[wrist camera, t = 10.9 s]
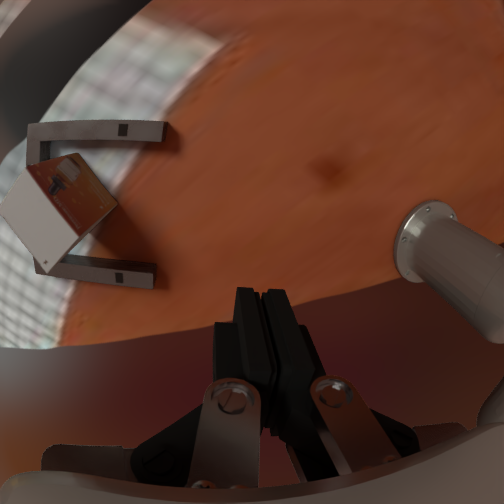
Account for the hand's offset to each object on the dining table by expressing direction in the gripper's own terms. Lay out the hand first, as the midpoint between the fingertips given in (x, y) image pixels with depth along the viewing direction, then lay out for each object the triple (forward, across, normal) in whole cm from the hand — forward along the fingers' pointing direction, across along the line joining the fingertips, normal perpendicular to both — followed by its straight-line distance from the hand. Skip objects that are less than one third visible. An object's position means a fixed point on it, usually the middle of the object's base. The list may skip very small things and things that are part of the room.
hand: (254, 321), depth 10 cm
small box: (+22, +17, +1) cm, 28 cm away
